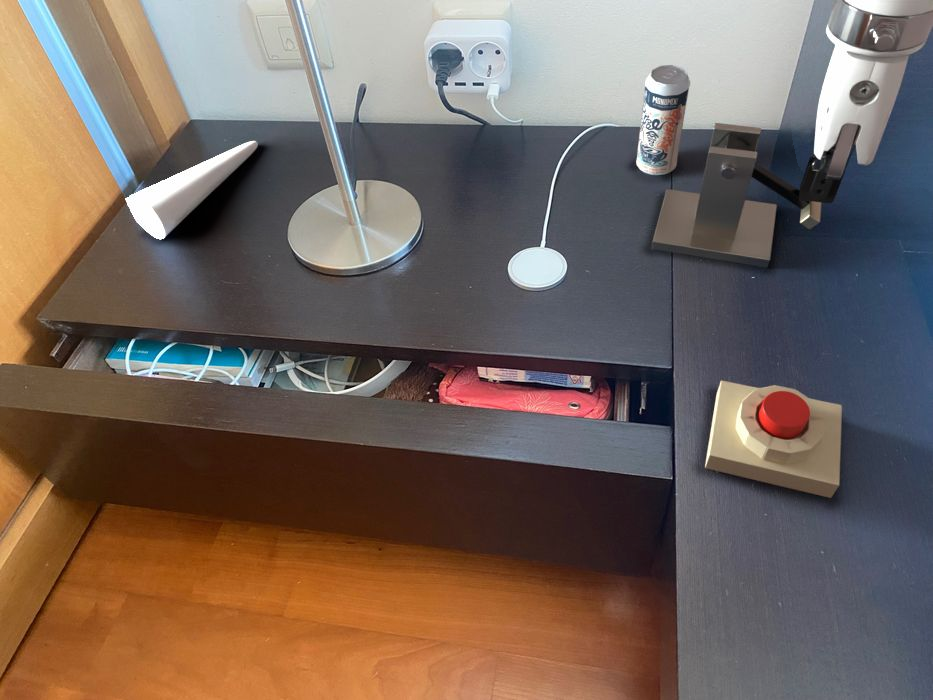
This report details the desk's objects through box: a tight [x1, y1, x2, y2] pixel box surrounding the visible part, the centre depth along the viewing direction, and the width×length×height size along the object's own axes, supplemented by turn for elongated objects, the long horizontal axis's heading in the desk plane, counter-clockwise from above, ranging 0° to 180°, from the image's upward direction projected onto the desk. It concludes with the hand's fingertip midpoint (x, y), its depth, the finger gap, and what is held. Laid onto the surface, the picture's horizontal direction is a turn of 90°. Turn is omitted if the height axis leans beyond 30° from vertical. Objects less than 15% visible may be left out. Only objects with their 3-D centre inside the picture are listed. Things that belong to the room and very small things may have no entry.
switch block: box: [704, 380, 843, 499], centre depth 61 cm, size 10×8×4 cm
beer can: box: [635, 64, 691, 176], centre depth 83 cm, size 5×5×12 cm
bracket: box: [651, 122, 778, 269], centre depth 75 cm, size 12×9×12 cm
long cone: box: [125, 140, 259, 240], centre depth 90 cm, size 6×6×19 cm
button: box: [758, 391, 810, 439], centre depth 59 cm, size 4×4×2 cm
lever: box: [717, 134, 822, 230], centre depth 72 cm, size 12×5×2 cm, turn 71°
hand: (815, 196), depth 72 cm, fingers closed
